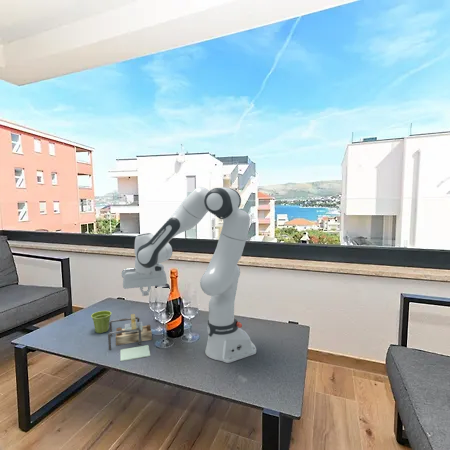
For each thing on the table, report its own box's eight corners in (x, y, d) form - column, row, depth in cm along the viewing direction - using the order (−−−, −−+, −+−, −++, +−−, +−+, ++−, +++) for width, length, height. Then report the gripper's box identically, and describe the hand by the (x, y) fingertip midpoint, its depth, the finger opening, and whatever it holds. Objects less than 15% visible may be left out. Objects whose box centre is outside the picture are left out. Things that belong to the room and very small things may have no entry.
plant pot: (98, 326, 152) (97, 310, 152) (115, 326, 152) (114, 310, 151) (88, 334, 143) (87, 317, 142) (106, 335, 142) (105, 318, 141)
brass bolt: (134, 316, 146) (134, 311, 146) (136, 329, 132) (136, 324, 131) (130, 316, 145) (130, 312, 145) (131, 329, 131) (131, 325, 131)
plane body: (149, 329, 148) (149, 315, 148) (152, 342, 135) (151, 326, 134) (110, 335, 142) (109, 320, 141) (108, 349, 129) (107, 333, 128)
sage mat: (148, 346, 132) (148, 345, 132) (150, 356, 124) (150, 355, 124) (120, 350, 128) (120, 349, 128) (120, 361, 120) (120, 360, 120)
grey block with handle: (142, 329, 142) (141, 320, 142) (142, 333, 138) (142, 323, 138) (124, 332, 139) (124, 322, 139) (124, 335, 136) (124, 326, 135)
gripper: (121, 270, 131) (122, 300, 133) (167, 267, 138) (167, 295, 139) (121, 267, 137) (122, 295, 139) (165, 264, 144) (165, 291, 145)
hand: (145, 295), depth 139 cm, fingers closed
